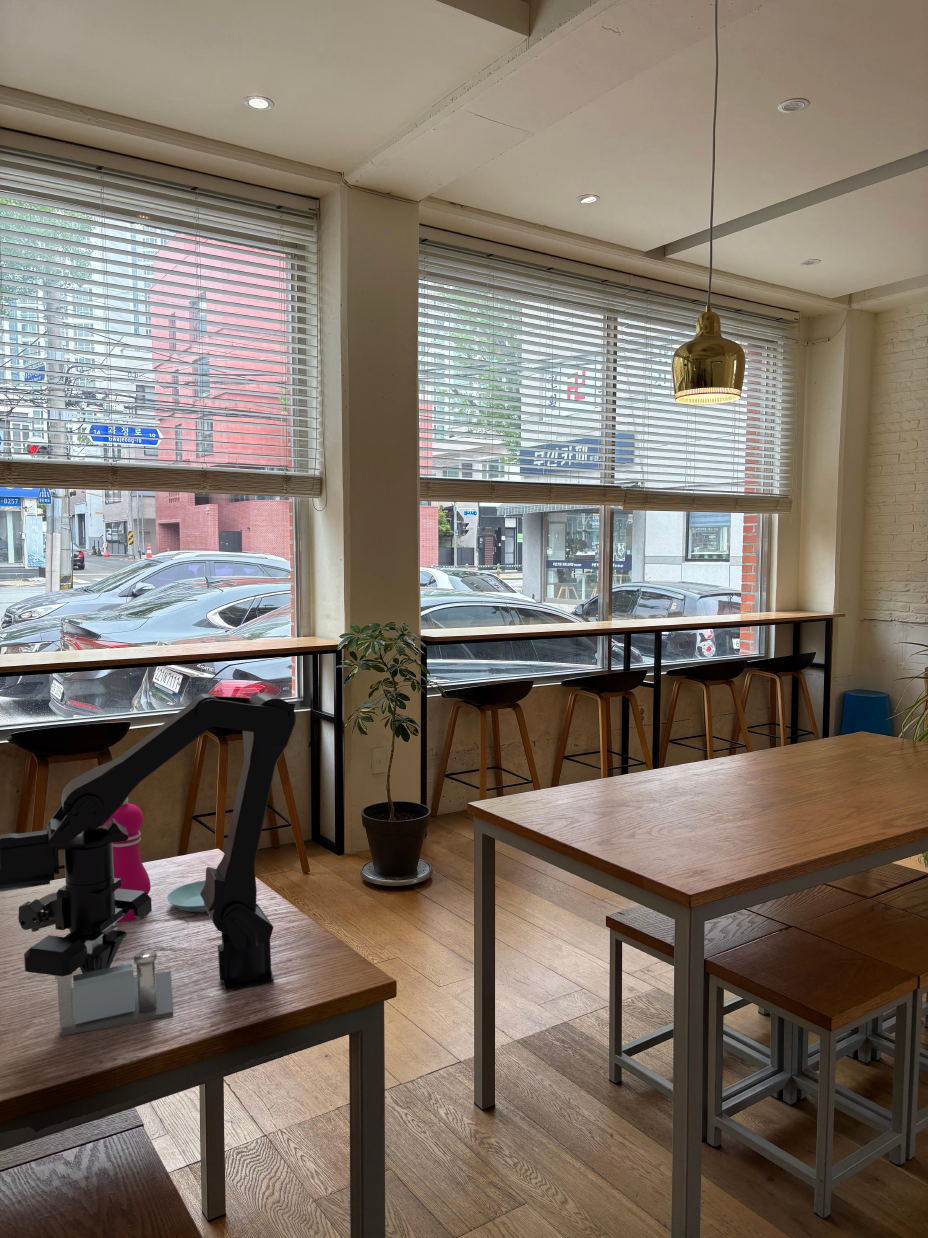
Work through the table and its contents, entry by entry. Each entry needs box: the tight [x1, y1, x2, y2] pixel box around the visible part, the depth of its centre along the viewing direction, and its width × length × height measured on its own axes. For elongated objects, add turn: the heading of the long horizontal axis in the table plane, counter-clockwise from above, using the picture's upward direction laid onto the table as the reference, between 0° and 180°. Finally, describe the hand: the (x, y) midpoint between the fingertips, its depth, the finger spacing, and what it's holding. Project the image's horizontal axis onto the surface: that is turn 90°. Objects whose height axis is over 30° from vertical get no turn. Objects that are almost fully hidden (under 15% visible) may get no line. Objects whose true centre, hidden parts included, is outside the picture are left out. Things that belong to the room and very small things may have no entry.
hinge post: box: [133, 949, 158, 1013], centre depth 115 cm, size 3×3×8 cm
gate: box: [72, 963, 135, 1024], centre depth 112 cm, size 7×2×6 cm, turn 116°
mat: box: [61, 970, 174, 1037], centre depth 117 cm, size 13×12×1 cm
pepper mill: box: [103, 796, 151, 923], centre depth 146 cm, size 7×7×20 cm
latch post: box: [54, 973, 74, 1035], centre depth 111 cm, size 2×3×8 cm, turn 20°
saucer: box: [167, 879, 208, 913], centre depth 151 cm, size 12×12×2 cm
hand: (94, 992), depth 116 cm, fingers closed
